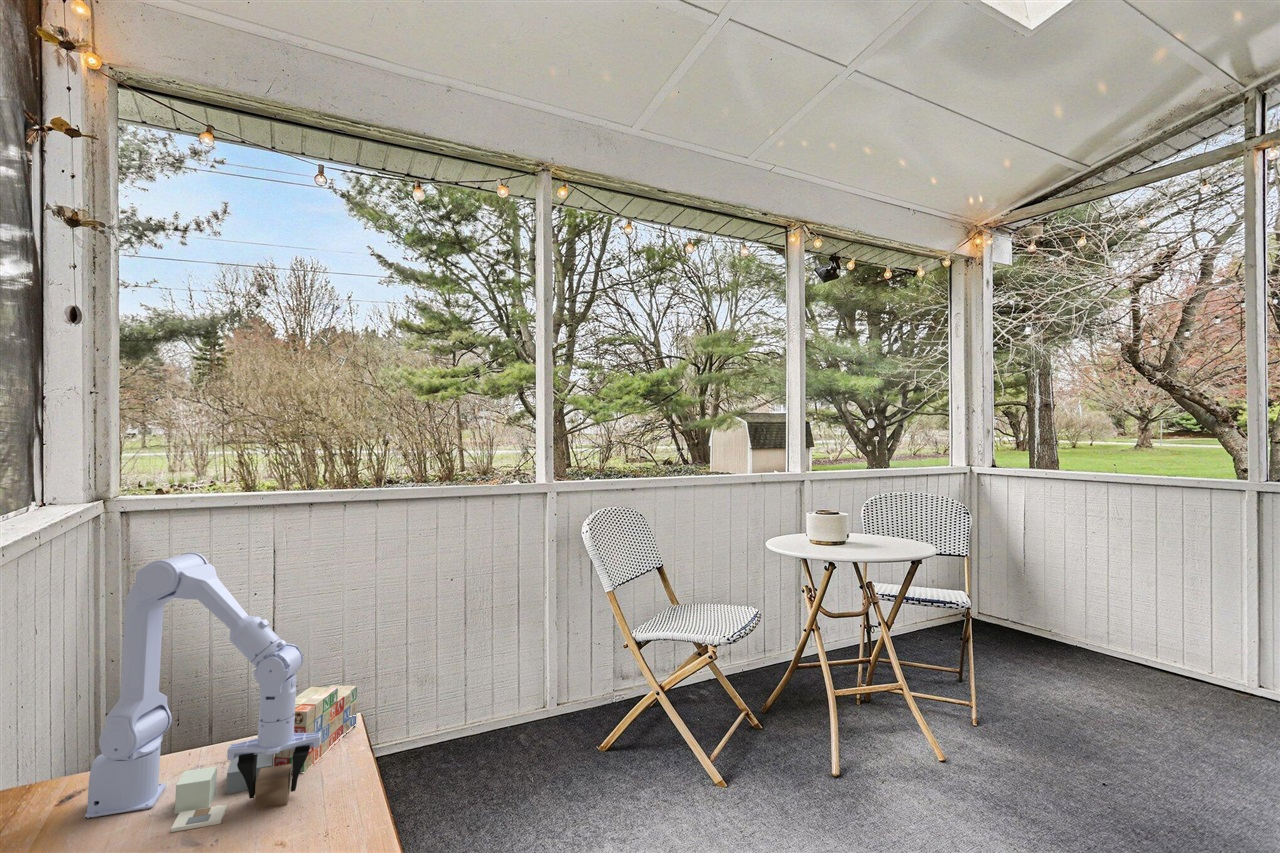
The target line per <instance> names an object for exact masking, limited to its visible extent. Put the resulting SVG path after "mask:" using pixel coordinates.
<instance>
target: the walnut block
mask: <svg viewBox="0 0 1280 853" xmlns="http://www.w3.org/2000/svg"><path fill="white" fill-rule="evenodd" d="M291 769H292V764H287V765H280V766H274V765H273V767H267V768H261V769H260V772H259V775H258V777H257V780H256V786H255V796H254V809H253V810H254V811H260V810H266V809H272V808H277V807H283V806H288V802H289V798H290V794H291V782H292V773H291Z"/></svg>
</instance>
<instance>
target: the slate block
mask: <svg viewBox="0 0 1280 853" xmlns="http://www.w3.org/2000/svg"><path fill="white" fill-rule="evenodd" d="M274 757H275V754H269V755H267V754H266V753H263V754H258V757H257V767H256V780H257V777H258V775H259V772H260V769H261V768H267V767H274ZM238 760H239V757H235V759H232V760H230V763H229V766H228V769H227V772H226V785H225V786H226V789H225V794H226V795H227V794H229V795H230V794H234V793H239V792H244V791H248V788H247V785H246V782H245V779H244V777H243V775H242V774H241V772H240V771H239V769H238V767H237V763H238Z"/></svg>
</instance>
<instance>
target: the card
mask: <svg viewBox="0 0 1280 853" xmlns="http://www.w3.org/2000/svg"><path fill="white" fill-rule="evenodd" d="M227 811H228V804H227V803H226V804H219V805H216V806H210V807H208V808H202V809H196V810H190V811H184V812H180V813H178V815H177V817H176V818H175V820H174V822H173V824H172V825H171V828H170V833H175V832H180V831H186V830H192V829H198V828H203V827H209V826H214V825H220V824H222V822H223V819H224V817H225V815H226V812H227Z"/></svg>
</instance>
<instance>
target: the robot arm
mask: <svg viewBox="0 0 1280 853" xmlns="http://www.w3.org/2000/svg"><path fill="white" fill-rule="evenodd" d="M125 598H126V599H125V606H124V608H125V609H124V622H123V623H124V624H123V636H122V637H123V639H122V640H123V641H122V656H121V657H122V658H121V673H120V674H121V676H120V678H121V679H120V691H119V692H120V693H119V699H118V701H117V702H116V703H115V705H114V706H113V708H112V709H111V710H110V711H109V712H108V714H107V715H106V717H105V725H104V728H103V729H102V731H101V733H100V736H99V739H98V745H99V749H100V751H101V753H102V754H98V755H97V756H96V758H94V760H93V763H92V765H91V768H90V771H89V778H88V788H87V789H88V790H87V805H86V813H85V815H84V818H85V817H87V818H86V819H89V818H90V817H91V818H96V817H102V816H107V815H108V816H109V815H115V814H122V813H127V812H133V811H140V810H146V809H151V808H153V807H154V806H155V804H156V803H157V802H158V799H159V798H160V796H161V795H162V793H163V792H164V790H165V788H166V786H167V783H165V782H164V783H162V782H161V783H159V782H160V769H161V768H160V767H161V752H162V751H161V749H162V748H161V746H162V741H163V740H164V735H165V733H167V731H168V730H169V729H170V727H171V725H172V719H173V718H172V713H171V711H170V709H169V706H168V696H167V695H165V694H163V693H162V692H160V679H161V678H160V677H161V676H160V675H161V661H162V660H161V659H162V658H161V657H162V639H163V623H164V619H163V618H164V606H165V605H166V604H167V603H169V602H170V601H171V600H172V599H185V600H197V601H198V602H199V603H201V604H202V605H203V606H204V607H205V608H206V609H207V610H208V611H210V613H211V614H213V616H215V617H216V618H217V619H218V620H219V621H221V622H222V623H223V624H224V625H225V626H226V627H227V628H228V629H229V641H230V642H231V643H232V644H233V645H234V647H235V648H237V650H238V651H239V652H240V653H241V654H242V655H243V656H244V657H245V658H246V660H248V661H249V662H250V663H251V665H252V666H253V667H255V669H254V670H253V677H254V679H255V681H256V682H257V683H258V685H259V706H258V707H259V710H258V722H257V723H258V724H257V738H254V739H249V740H246V741H242V742H237V743H232V744H230V745H229V746H228V748H227V758H226V760H227V761H231V760H232V759H235V757H239V760H238V763H237V767H238V769H239V771H240V772H241V774H242V775H243V777H244V779H245V782H246V785H247V788H248V790H247V791H248V798H249V799H251V800H252V799H255V786H256V767H257V757H258V754H263V753H266V754H267V755H269V754H274V755H275V754H276V753H278V752H279V751H285V750H292V749H295V750H294V753H293V773H291V791H290V793H293V792H295V791H296V790H297V786H298V785H297V783H298V779H299V776H300V774H301V773H300V771H301V769H302V766H303V764H304V762H305V760H306V758H307V756H308V754H309V750H310V747H313V748H317V747H320V741H321V732H319V733H294V721H295V701H296V697H297V677H298V676H297V675H298V674H297V672H298V671H299V670H300V669H301V667H302V666H303V663H304V656H303V653H302V651H301V650H300V648H299V646H298V645H296V644H293V643H290V642H289V643H287V642H286V641H285V640H284V639H281V638H280V637H279V636H278V635H277V633H276V632H274V631H273V630H272V629H271V627H270V622H269V621H268V620H267V619H266V618H264V619H262V618H261V617H260V616H257V615H256V616H255V615H254V616H253V615H248V613H247V612H246V611H245V609H243V607H242V606H241V605H240V603H239V602H238V601H237V600H236V599H235V597H234V596H233V595H232V594H231V592H230V591H229V590H228V589H227V587H226V586H225V585H224V584H223V583H222V581H221V580H220V578H219V577H218V575H217V571H216V567H215V566H214V565H212V564H211V563H209V562H208V560H207V559H206V557H205V556H204V555H203V554H200V553H198V552H193V551H192V552H190V551H189V552H186V553H183V554H182V555H181V554H180V555H177V556H172V557H169V558H165V559H157V560H153V561H151V562H149V563H148V564H146V565H145V566H144V567H142V568H140V569H139V570H137V571H136V573H135V581H134V584H133V585H132V586H131V589H130V590H129V592H128V594H127V595H126V597H125Z"/></svg>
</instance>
